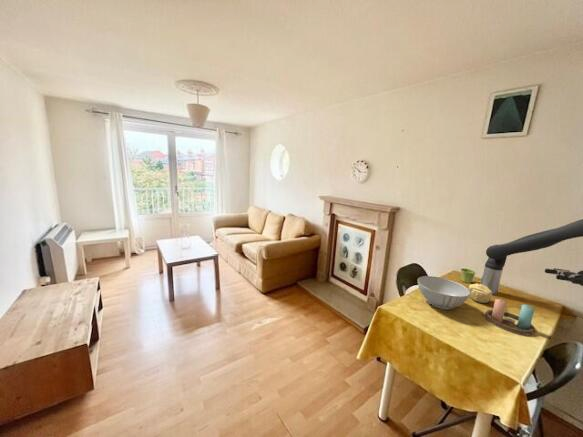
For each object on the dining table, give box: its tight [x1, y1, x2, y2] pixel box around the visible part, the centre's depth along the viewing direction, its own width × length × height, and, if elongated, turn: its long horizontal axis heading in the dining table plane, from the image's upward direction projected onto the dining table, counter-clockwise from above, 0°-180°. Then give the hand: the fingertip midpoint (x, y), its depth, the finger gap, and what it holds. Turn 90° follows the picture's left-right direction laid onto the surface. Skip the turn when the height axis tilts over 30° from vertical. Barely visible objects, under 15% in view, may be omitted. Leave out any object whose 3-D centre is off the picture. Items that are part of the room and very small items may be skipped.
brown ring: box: [484, 309, 536, 336], centre depth 125 cm, size 19×19×2 cm
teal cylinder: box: [516, 304, 535, 330], centre depth 120 cm, size 5×5×12 cm
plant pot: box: [460, 267, 477, 284], centre depth 176 cm, size 9×9×9 cm
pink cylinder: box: [490, 298, 508, 324], centre depth 125 cm, size 5×5×12 cm
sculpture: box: [468, 282, 493, 304], centre depth 148 cm, size 12×12×11 cm
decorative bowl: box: [417, 275, 471, 310], centre depth 141 cm, size 27×27×12 cm
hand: (550, 273), depth 118 cm, fingers open, 8 cm apart
